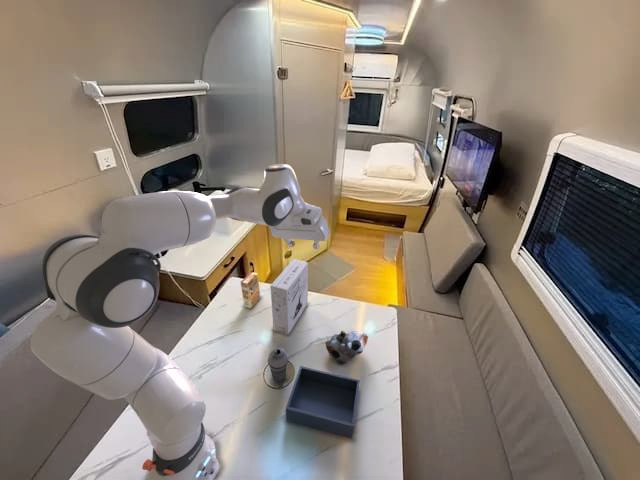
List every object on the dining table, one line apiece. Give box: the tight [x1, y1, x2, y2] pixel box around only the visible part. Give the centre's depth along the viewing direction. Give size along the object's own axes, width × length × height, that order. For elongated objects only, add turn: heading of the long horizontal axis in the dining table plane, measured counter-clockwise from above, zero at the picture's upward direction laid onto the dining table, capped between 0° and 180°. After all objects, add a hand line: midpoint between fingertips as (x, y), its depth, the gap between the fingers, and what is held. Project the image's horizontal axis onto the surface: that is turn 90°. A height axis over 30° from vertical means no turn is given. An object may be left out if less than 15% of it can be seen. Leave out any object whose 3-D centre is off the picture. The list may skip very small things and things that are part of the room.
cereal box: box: [269, 258, 309, 335], centre depth 124 cm, size 22×8×25 cm, turn 159°
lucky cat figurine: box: [325, 330, 369, 364], centre depth 110 cm, size 15×12×14 cm
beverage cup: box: [267, 341, 289, 387], centre depth 96 cm, size 7×7×20 cm
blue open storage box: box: [285, 365, 361, 440], centre depth 92 cm, size 16×22×7 cm
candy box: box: [240, 271, 261, 309], centre depth 133 cm, size 9×4×15 cm, turn 159°
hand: (304, 246), depth 93 cm, fingers open, 8 cm apart
